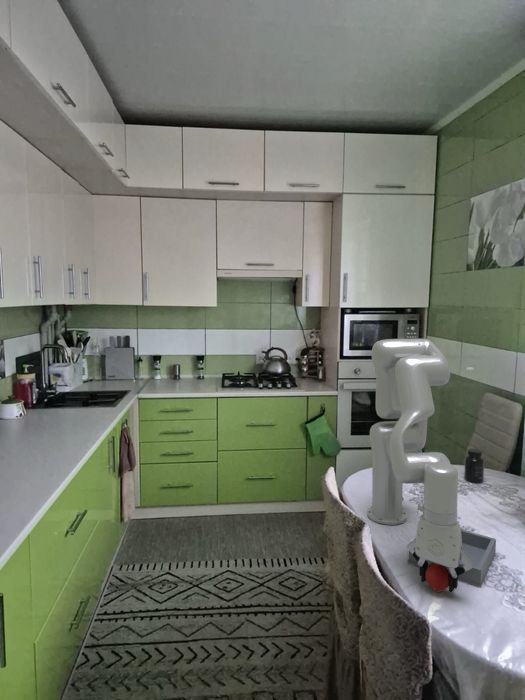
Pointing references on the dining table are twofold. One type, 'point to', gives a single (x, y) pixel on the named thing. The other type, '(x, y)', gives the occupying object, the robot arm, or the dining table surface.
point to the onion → (437, 576)
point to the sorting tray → (472, 557)
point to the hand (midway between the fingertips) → (438, 583)
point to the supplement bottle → (474, 466)
